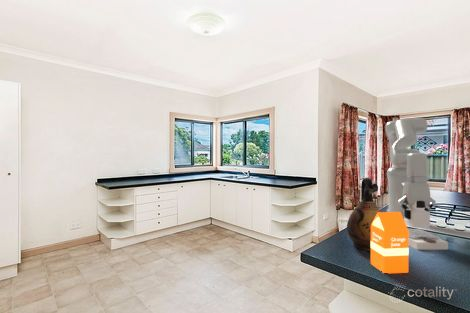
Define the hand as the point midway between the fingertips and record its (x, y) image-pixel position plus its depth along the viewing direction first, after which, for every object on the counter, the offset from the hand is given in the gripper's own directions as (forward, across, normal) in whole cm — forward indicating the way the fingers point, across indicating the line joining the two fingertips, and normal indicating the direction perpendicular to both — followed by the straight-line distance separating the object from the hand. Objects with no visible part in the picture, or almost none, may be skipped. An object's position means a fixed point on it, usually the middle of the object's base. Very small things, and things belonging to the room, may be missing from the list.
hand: (416, 218), depth 113 cm
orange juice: (+11, +28, +26) cm, 40 cm away
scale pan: (+7, 0, 0) cm, 7 cm away
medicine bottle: (+4, 0, 0) cm, 4 cm away
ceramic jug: (+11, +26, +6) cm, 29 cm away
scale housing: (+11, 0, +2) cm, 11 cm away
